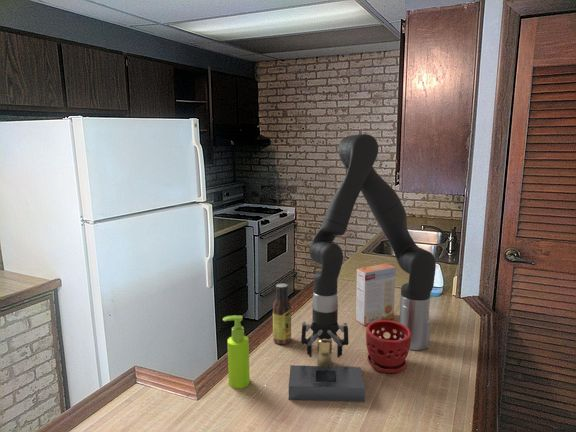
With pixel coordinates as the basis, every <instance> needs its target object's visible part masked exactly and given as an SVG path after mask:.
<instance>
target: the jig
mask: <svg viewBox="0 0 576 432" xmlns="http://www.w3.org/2000/svg"><path fill="white" fill-rule="evenodd" d="M361 368H362V367H361V366H360V367H359V366H332V365H331V366H318V365H295V364H294V365H290V368H289V377H288V400H293V401H294V400H295V401H296V400H297V401H320V402H321V401H326V402H328V401H329V402H354V403H355V402H358V403H365V397H366V396H365V395H366V390H365V389H366V387H365V386H366V385H365V383H364V377H363V372H362V369H361Z"/></svg>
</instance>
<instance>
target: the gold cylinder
mask: <svg viewBox="0 0 576 432" xmlns="http://www.w3.org/2000/svg"><path fill="white" fill-rule="evenodd" d="M316 341H317V343H316V344H317V345H316V349H317V350H316V351H317V352H316V354H317V355H316V357H317V358H316V366H332V361H333V359H332V354H333V352H332V351H333V339H332V338H330V339H320V338H317V339H316Z"/></svg>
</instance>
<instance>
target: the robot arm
mask: <svg viewBox="0 0 576 432" xmlns="http://www.w3.org/2000/svg"><path fill="white" fill-rule="evenodd" d="M337 152H338V155H339V156H338V157H339V159H340V161H341V162H342V164H343V166H344V167H345V169H346V171H347V172H346V175H345V177H344V179H343V180H342V182H341V184H340V186H339V187H338V189H337V191H336V192H335V193H334V195H333V196H332V198H331V200H330V202H329V205H327V209H326V212H325V215H324V219H323V221H322V222H323V223H322V224H321V226H320V228H319V229H318V231H317V232H316V234H315V236H314V237H313V239H312V241H311V243H310V245H309V246H310V247H309V257H310V258H311V260H312V261H314V263H318V264H319V265H321V270H320V271H317V272H316V273H315V274H314V275H313V293H312V317H311V318H312V321H311V323H306V322H305V321H304V322H302V325H301V335H300V336H301V337H300V339H301V340H300V343H301V344H302V345H306V347H307V349H306V354H307V356H309V357H308V358H312V357H313V356H312V355H313V354H312V353H313V348H312V347H313V344H314V343H315V342H316V341H317V339H318V338H320V339H330V338H331V339H332V341H334V343H336V346H337V347H336V349H337V350H336V354H337V355H336V357H337V358H341V356H342V355H343V347H344V346H348V345H349V344H350V343H349V342H350V341H349V327H348V324H347V322H344V323H343V324H339V323H338V319H339V318H338V317H339V316H338V315H339V313H338V310H339V299H338V298H339V297H338V279H339V276H340V273H341V269H342V265H343V262H344V254H343V253H344V252H343V250H342V248H341V247H340V245H339V244H337V243H333V242H334V240H335V239H336V237H340V236H344V235H345V234H346V231H347V228H348V226H349V222H350V219H351V216H352V213H353V210H354V207H355V205H356V202H357V199H358V197H359V195H360V192H361V194H362V196H363V197H364V200H365V201H366V203H367V205H368V207H369V208H370V211H371V212H372V215H373V216H374V218H375V220H376V222H377V223H378V225H379V226H380V227H379V228H380V229H381V230H382V232H383V234H384V236H385V238H386V239H387V241H388V242H389V244H390V247H391V249H392V251H393V253H394V257H395V259H396V261H397V264H398V265H399V267H400V268H401V269H402V271H404V272H406V273H407V274H408V275H409V276H408V282H405V283H403V284H402V286H401V288H400V302H399V303H400V304H399V306H400V307H399V320H398V321H399V322H398V323H400V324H403V325H404V326H406V327H407V328H408V329H409V330H410V332H411V343H410V349H409V351H410V350H411V351H421V350H425V349H429V347H430V335H431V334H430V333H431V320H430V318H429V317H430V304H431V293H432V291H433V289H434V285H435V276H436V269H437V264H436V258H435V256H434V254H433V253H432V252H430V251H429V250H426V249H424V248H423V247H422V248H421V247H420V246H418V244H416V242H415V241H414V239H413V238H412V236H411V234H410V232H409V230H408V220H407V218H408V216H407V212H406V209H405V207H404V205H403V203H402V201H401V198H400V197H399V195H398V194H397V192H396V190H394V189H393V187H392V186H391V185H389V184H388V182H387V181H386V180H385V179H383V177H381V176H380V175H379V173H378V172H377V171H376V170H375V168H374V164H375V162H376V160H377V157H378V154H379V143H378V141H377V139H376V138H375V137H374V136H373V135H370V134H368V133H361V134H353V135H347V136H344V137H343V138H342V139H341V140H340V141H339V144H338V151H337ZM310 329H311V331H312V333H311V335H310V336H309V337H308V338H306V334H307V332H309V330H310ZM339 330H340V332H341V333H343V338H342V339H341V337H340V336H339V334H338V333H337V332H338V331H339ZM400 334H401V335H402V332H400ZM404 337H406V334H405V336H404ZM400 339H402V338H399V340H400Z"/></svg>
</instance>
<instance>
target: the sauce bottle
mask: <svg viewBox="0 0 576 432" xmlns="http://www.w3.org/2000/svg"><path fill="white" fill-rule="evenodd" d="M288 289H289V287H288V284H287V283H277V284H276V285H275V290H276V295H275V299H274V300H273V304H272V337H273V339H272V340H273V342H274V343H275V344H278V345H286V344H289V343H290V342H291V340H292V306H291V303H290V301H289V297H288Z"/></svg>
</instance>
